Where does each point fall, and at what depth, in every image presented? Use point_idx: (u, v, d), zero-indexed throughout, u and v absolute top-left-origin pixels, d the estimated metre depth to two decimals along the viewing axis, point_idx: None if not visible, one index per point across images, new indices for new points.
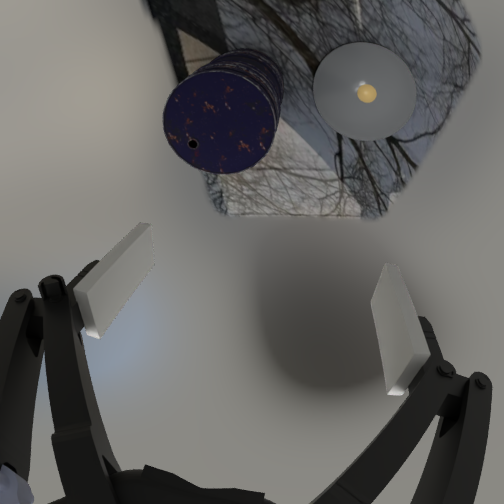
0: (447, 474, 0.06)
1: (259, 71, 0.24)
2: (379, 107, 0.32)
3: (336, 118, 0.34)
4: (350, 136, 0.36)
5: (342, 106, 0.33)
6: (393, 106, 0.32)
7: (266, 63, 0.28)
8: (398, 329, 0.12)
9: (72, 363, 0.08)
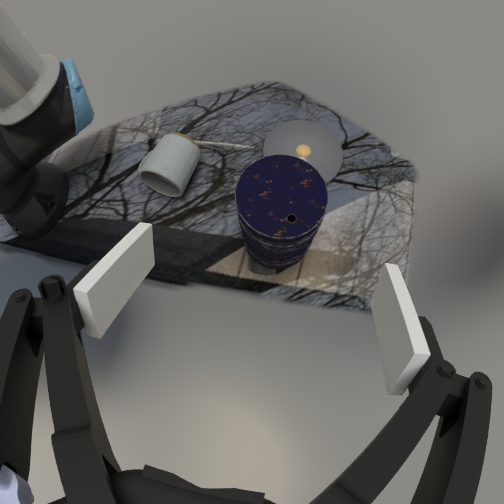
0: (447, 474, 0.06)
1: None
2: (315, 145, 0.48)
3: (321, 175, 0.46)
4: (337, 169, 0.47)
5: None
6: (315, 136, 0.48)
7: None
8: (398, 329, 0.12)
9: (72, 363, 0.08)
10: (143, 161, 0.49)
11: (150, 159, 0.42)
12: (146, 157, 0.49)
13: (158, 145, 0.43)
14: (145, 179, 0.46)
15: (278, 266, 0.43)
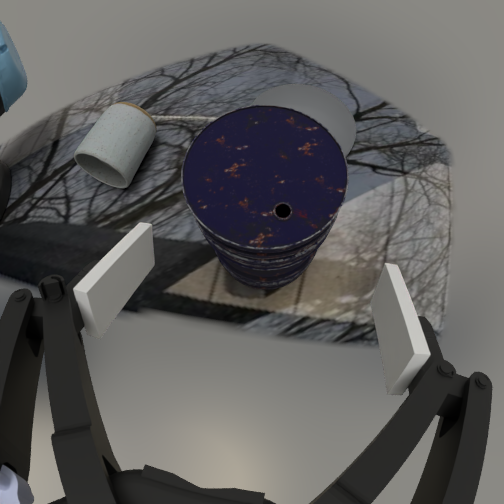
0: (447, 474, 0.06)
1: None
2: (318, 114, 0.34)
3: None
4: (350, 145, 0.32)
5: None
6: (317, 102, 0.34)
7: None
8: (398, 329, 0.12)
9: (72, 363, 0.08)
10: None
11: (85, 138, 0.28)
12: None
13: (98, 119, 0.29)
14: (85, 166, 0.32)
15: None
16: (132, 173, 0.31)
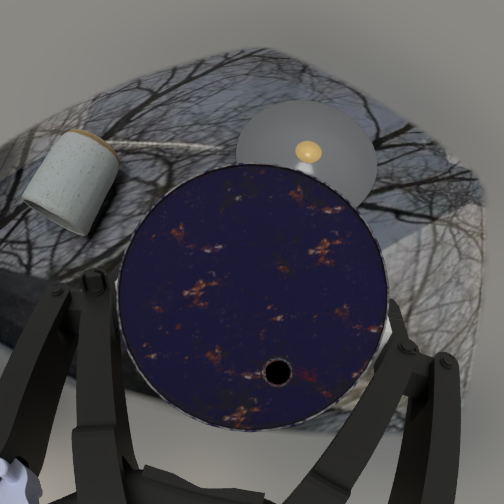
0: (423, 459, 0.06)
1: None
2: (329, 141, 0.27)
3: None
4: (370, 185, 0.26)
5: None
6: (328, 126, 0.27)
7: None
8: None
9: (105, 360, 0.09)
10: None
11: (33, 178, 0.21)
12: None
13: (49, 153, 0.22)
14: (40, 208, 0.25)
15: None
16: (89, 221, 0.24)
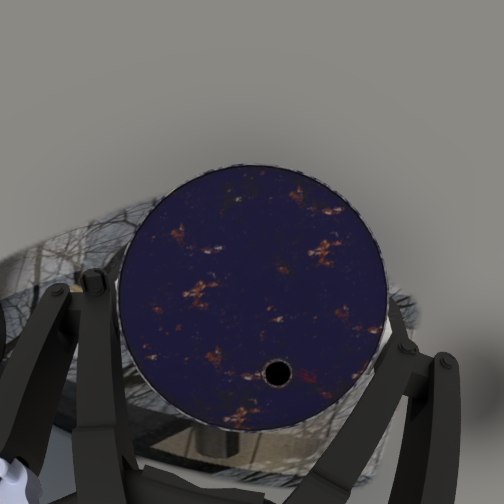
0: (423, 459, 0.06)
1: None
2: None
3: None
4: None
5: None
6: None
7: None
8: None
9: (105, 360, 0.09)
10: None
11: None
12: None
13: None
14: None
15: None
16: None
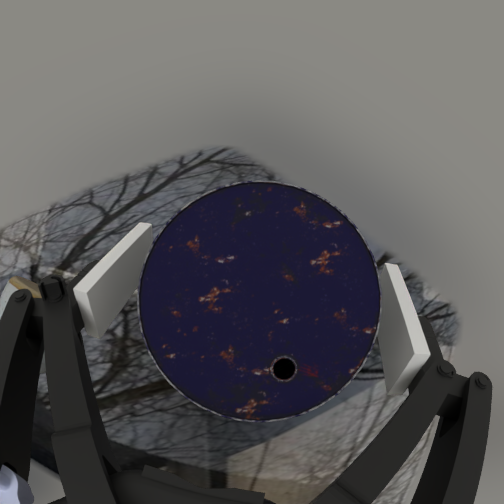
0: (447, 475, 0.06)
1: None
2: None
3: None
4: None
5: None
6: None
7: None
8: (398, 329, 0.12)
9: (72, 363, 0.08)
10: None
11: None
12: None
13: None
14: None
15: None
16: None
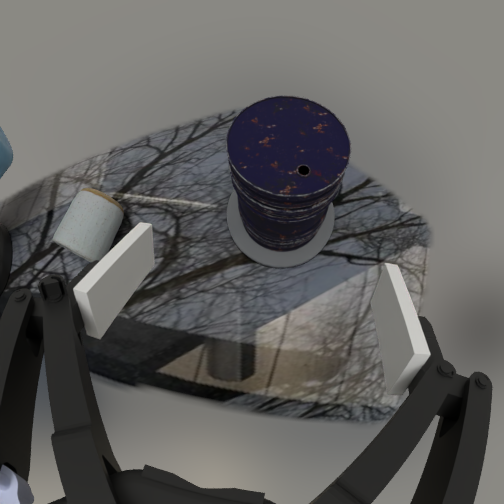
0: (446, 475, 0.06)
1: None
2: None
3: (303, 248, 0.36)
4: (326, 238, 0.36)
5: None
6: None
7: None
8: (398, 329, 0.12)
9: (72, 363, 0.08)
10: None
11: (60, 226, 0.32)
12: None
13: (70, 206, 0.33)
14: None
15: (284, 247, 0.34)
16: None
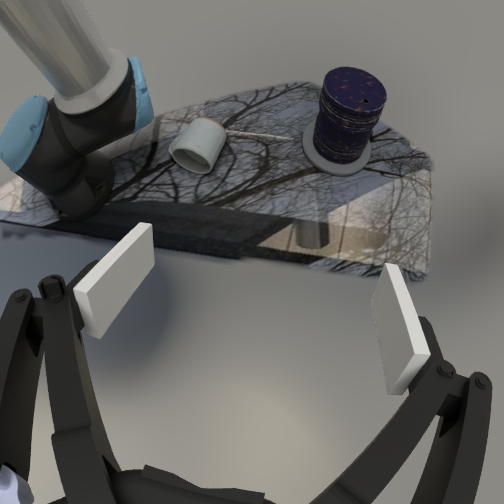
0: (447, 474, 0.06)
1: None
2: None
3: (354, 163, 0.52)
4: (367, 158, 0.52)
5: None
6: None
7: None
8: (398, 329, 0.12)
9: (72, 363, 0.08)
10: (172, 143, 0.55)
11: (183, 139, 0.48)
12: (175, 140, 0.55)
13: (189, 127, 0.49)
14: (176, 158, 0.52)
15: (344, 158, 0.50)
16: (213, 164, 0.51)
